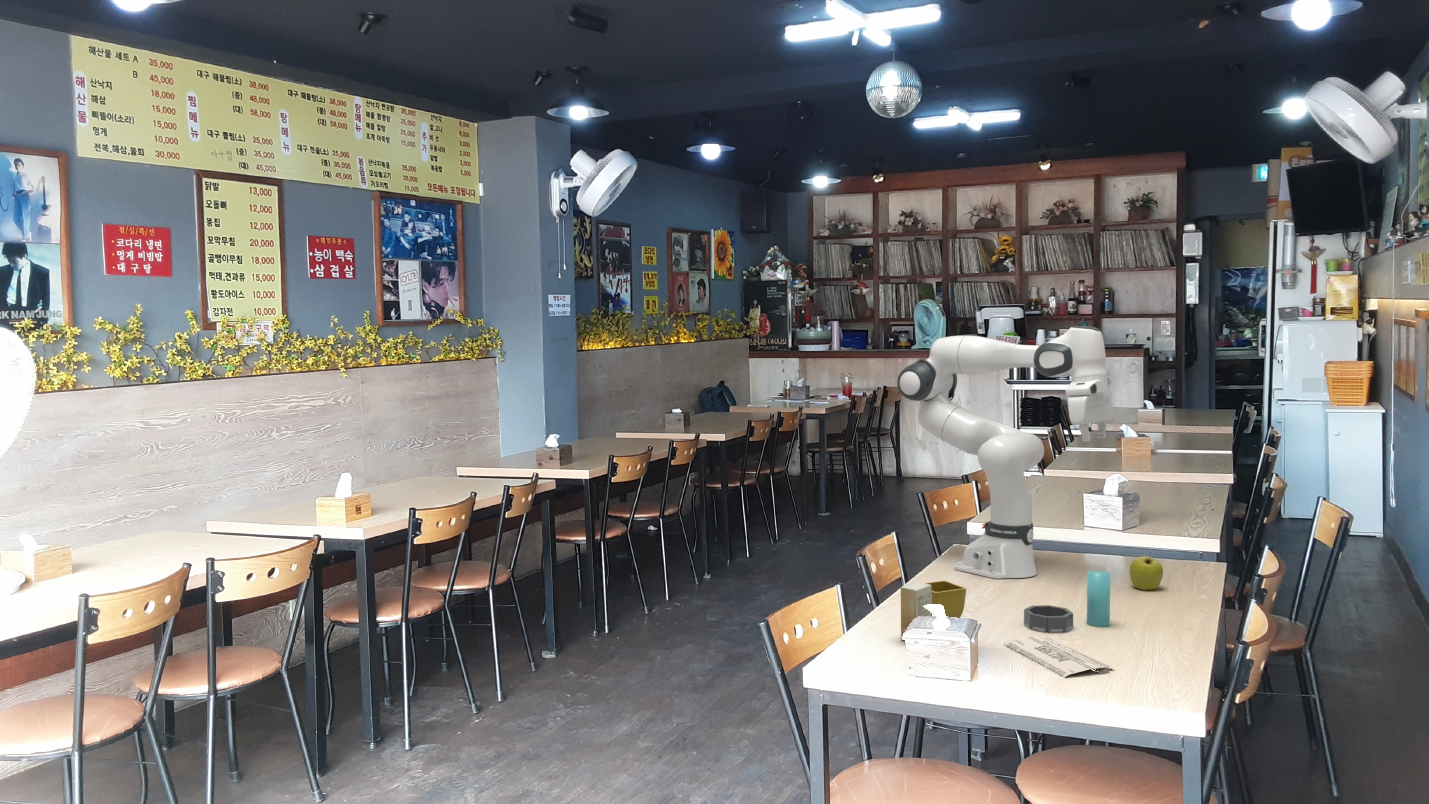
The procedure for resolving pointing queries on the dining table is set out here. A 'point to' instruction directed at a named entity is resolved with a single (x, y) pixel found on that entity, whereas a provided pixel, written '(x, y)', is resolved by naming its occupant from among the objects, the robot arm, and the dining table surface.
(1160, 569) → the apple
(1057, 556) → the dining table surface
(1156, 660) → the dining table surface
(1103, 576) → the teal pillar candle
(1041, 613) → the barrel ring
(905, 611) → the skincare box
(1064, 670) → the newspaper
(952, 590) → the flower pot
